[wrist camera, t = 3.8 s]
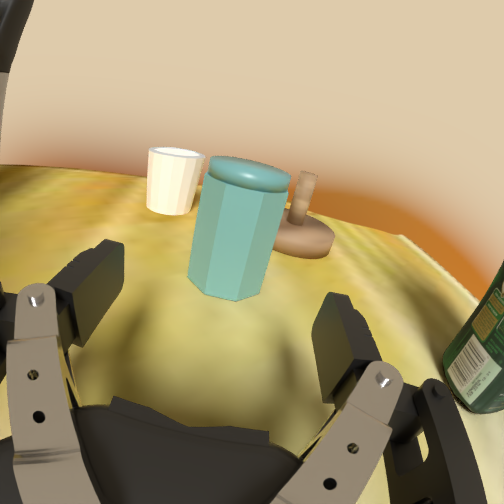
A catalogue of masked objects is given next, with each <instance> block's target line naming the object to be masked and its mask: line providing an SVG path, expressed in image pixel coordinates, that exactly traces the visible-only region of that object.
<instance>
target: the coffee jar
mask: <svg viewBox="0 0 504 504" xmlns="http://www.w3.org/2000/svg"><path fill="white" fill-rule="evenodd" d="M443 366H444V370H445V375H446V378H447V380H448V382H449V385H450V387H451V389H452V390H453V392H454V394H455V395H456V396H457V397H458V398H459V399H460V400H461V401H462V402H463V403H464V404H465V405H466V406H467V407H468V408H469V409H470V410H471V411H472V412H474V413H478V414H487V413H494V412H498V411H501V410H503V409H504V261H503V263H502V265H501V267H500V269H499V271H498V273H497V275H496V277H495V278H494V280H493V282H492V284H491V285H490V287H489V289H488V290H487V292H486V294H485V296H484V297H483V299H482V300H481V302H480V303H479V305H478V306H477V308H476V309H475V311H474V312H473V313H472V315H471V316H470V318H469V319H468V321H467V322H466V323H465V325H464V326H463V327H462V329H461V330H460V332H459V333H458V334H457V336H456V337H455V339H454V340H453V341H452V343H451V344H450V345H449V347H448V348H447V349H446V351H445V353H444V355H443Z"/></svg>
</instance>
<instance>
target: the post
mask: <svg viewBox="0 0 504 504" xmlns="http://www.w3.org/2000/svg"><path fill="white" fill-rule="evenodd" d="M317 177H318V176H317V175H315V174H312V173H309V172H306V171H301V172H300V175H299V179H298V182H297V186H296V189H295V192H294V196H293V199H292V203H291V206H290V209H286V208H284V211H283V215H282V218H281V221H280V225H279V228H278V232H277V235H276V238H275V242H274V245H273V249H274V250H276V251H278V252H281V253H284V254H287V255H291V256H295V257H300V258H308V259H317V258H323V257H325V256H327V255H328V254H329V251H330V249H331V246H332V243H333V241H334V238H335V234H334V232H333V231H332V230H331V229H330V228H329V227H328V226H327V225H325V224H324V223H322V222H321V221H319V220H317V219H315V218H313V217H311V216H308V215H306V213H307V210H308V207H309V204H310V200H311V197H312V194H313V190H314V187H315V184H316V181H317Z"/></svg>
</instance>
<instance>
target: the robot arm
mask: <svg viewBox="0 0 504 504" xmlns="http://www.w3.org/2000/svg"><path fill="white" fill-rule="evenodd" d="M33 2H34V0H0V140H1V126H2V115H3V108H4V100H5V94H6V87H7V82H8V77H9V72H10V68H11V64H12V62H13V59H14V57H15V54H16V50H17V47H18V43H19V40H20V38H21V35H22V32H23V29H24V27H25V24H26V21H27V19H28V17H29V14H30V11H31V8H32V5H33ZM123 283H124V245H123V243H119V242H115V241H112V240H108V239H104V240H103V241H102V242H101V243H100V244H99V245H97V246H96V247H95V248H94V249H93V248H90V249H88V250H86V251H83V252H81V253H80V254H78V255H77V256H76V257H75V258H74V259H73V261H71V262H70V263H68V264H67V267H66V266H65V267H64V268H63V269H62V270H61V271H60V272H59V273H58V274H57V275H56V276H55V277H53V278H52V279H51V280H50V281H49V282H48V283H47V284H43V283H36V284H31V285H28V286H26V287H25V288H23V289H22V290H21V291H20V292H19V294H14V293H6V292H3V288H2V284H1V282H0V383H1V382H2V380H3V378H4V377H5V375H6V374H7V395H8V407H9V416H10V424H11V431H12V436H10V437H7V438H5V439H2V440H0V504H355V503H356V501H357V500H358V498H359V496H360V495H361V493H362V491H363V490H364V488H365V486H366V484H367V482H368V481H369V479H370V477H371V475H372V473H373V471H374V469H375V467H376V465H377V463H378V461H379V459H380V457H381V455H382V453H383V456H384V462H385V468H386V475H387V481H388V489H389V496H390V504H487V500H486V495H485V491H484V487H483V483H482V479H481V476H480V472H479V469H478V465H477V462H476V459H475V456H474V452H473V449H472V446H471V443H470V441H469V438H468V435H467V432H466V429H465V427H464V424H463V421H462V419H461V416H460V414H459V411H458V409H457V406H456V404H455V401H454V399H453V397H452V394H451V392H450V390H449V389H448V387H447V386H446V385H445V384H444V383H442V382H441V381H439V380H437V379H433V378H430V379H427V380H425V381H424V383H423V384H422V385H421V386H420V387H416V386H413V385H410V384H407V383H404V382H403V378H402V376H401V374H400V373H399V371H398V370H397V369H396V368H395V367H393V366H392V365H390V364H389V363H386V362H383V361H382V358H381V356H380V353H379V351H378V348H377V346H376V344H375V341H374V339H373V337H372V334H371V332H370V330H369V327H368V325H367V322H366V320H365V318H364V317H363V316H362V315H361V314H360V313H359V311H358V310H356V309H354V308H353V306H352V303H351V301H350V298H349V296H348V295H344V294H339V293H334V292H329V293H328V294H327V295H326V297H325V299H324V301H323V304H322V306H321V308H320V310H319V312H318V315H317V317H316V319H315V321H314V324H313V327H312V342H313V348H314V353H315V359H316V364H317V370H318V376H319V382H320V388H321V394H322V401H323V403H331V404H335V409H334V411H333V412H332V413H331V414H330V416H329V417H328V419H327V420H326V421H325V423H324V424H323V425H322V427H321V428H320V429H319V431H318V432H317V433H316V434H315V436H314V437H313V438H312V440H311V441H310V442H309V443H308V445H307V446H306V447H305V448H304V449H303V450H302V451H301V453H300V454H299V455H298V456H296V455H294V454H293V453H291V452H290V451H288V450H286V449H285V448H283V447H281V446H279V445H276V444H274V443H271V442H269V431H261V430H253V429H246V428H239V427H232V426H223V427H188V426H185V425H183V424H181V423H178V422H176V421H174V420H172V419H170V418H168V417H166V416H165V415H163V414H161V413H159V412H157V411H155V410H153V409H151V408H149V407H146V406H143V405H140V404H136V403H133V402H130V401H127V400H124V399H122V398H119V397H116V396H113V399H112V401H111V403H110V405H87V406H82V404H81V401H80V398H79V394H78V391H77V387H76V382H75V378H74V373H73V369H72V364H71V359H70V354H69V350H68V349H69V347H70V346H71V344H75V345H77V346H79V347H82V348H83V347H84V345H85V343H86V342H87V340H88V339H89V337H90V336H91V334H92V333H93V331H94V330H95V328H96V327H97V325H98V324H99V322H100V321H101V319H102V318H103V316H104V315H105V313H106V312H107V310H108V309H109V308H110V306H111V305H112V303H113V302H114V300H115V299H116V298H117V296H118V295H119V293H120V292H121V290H122V287H123ZM423 431H424V434H425V437H426V441H427V444H428V448H429V453H428V457H427V459H426V460H425V461H424V462H423V458H422V454H421V450H420V446H419V443H418V439H417V436H418V435H419V434H421V433H422V432H423Z"/></svg>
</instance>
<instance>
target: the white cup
mask: <svg viewBox="0 0 504 504" xmlns="http://www.w3.org/2000/svg"><path fill="white" fill-rule="evenodd" d="M204 161H205V156H204V155H203V154H200V153H198V152H195V151H191V150H186V149H181V148H172V147H153V148H150V149H149V157H148V175H147V207H148V208H149V209H150V210H152V211H154V212H157V213H161V214H166V215H183V214H186V213H189V211H190V210H191V207H192V203H193V199H194V196H195V192H196V188H197V185H198V181H199V178H200V174H201V171H202V167H203V164H204Z"/></svg>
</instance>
